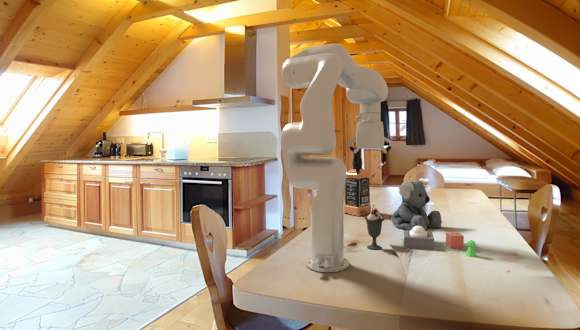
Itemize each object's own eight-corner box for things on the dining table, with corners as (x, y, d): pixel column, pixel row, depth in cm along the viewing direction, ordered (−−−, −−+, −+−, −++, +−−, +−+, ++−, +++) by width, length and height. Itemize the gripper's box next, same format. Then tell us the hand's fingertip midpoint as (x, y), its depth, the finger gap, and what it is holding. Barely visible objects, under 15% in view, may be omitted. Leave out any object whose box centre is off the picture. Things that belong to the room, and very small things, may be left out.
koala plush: (421, 235, 136) (421, 183, 134) (381, 226, 150) (381, 179, 148) (444, 227, 147) (445, 179, 145) (405, 219, 161) (405, 176, 159)
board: (481, 257, 110) (481, 242, 110) (402, 251, 117) (402, 237, 117) (475, 248, 119) (476, 234, 118) (402, 243, 126) (402, 230, 125)
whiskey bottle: (356, 210, 183) (356, 146, 180) (372, 213, 175) (372, 147, 173) (342, 213, 176) (342, 147, 174) (358, 216, 169) (358, 147, 166)
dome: (427, 243, 116) (428, 228, 116) (409, 241, 118) (409, 227, 118) (426, 238, 122) (426, 224, 121) (409, 237, 123) (409, 223, 123)
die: (463, 248, 114) (463, 235, 114) (450, 248, 115) (450, 235, 114) (458, 244, 118) (458, 232, 118) (445, 244, 119) (445, 232, 118)
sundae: (370, 251, 118) (370, 206, 116) (360, 245, 124) (360, 202, 123) (388, 249, 119) (388, 204, 118) (378, 243, 126) (378, 201, 125)
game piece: (461, 260, 108) (461, 240, 107) (464, 256, 111) (465, 237, 111) (477, 263, 105) (477, 242, 105) (480, 259, 108) (480, 239, 108)
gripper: (345, 118, 134) (346, 164, 136) (394, 117, 130) (394, 164, 131) (348, 119, 141) (348, 163, 143) (394, 118, 137) (393, 163, 138)
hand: (370, 163), depth 137 cm, fingers open, 9 cm apart
